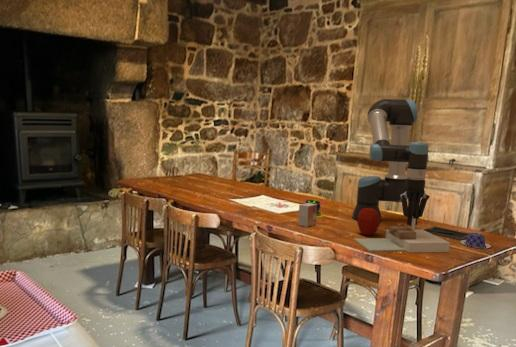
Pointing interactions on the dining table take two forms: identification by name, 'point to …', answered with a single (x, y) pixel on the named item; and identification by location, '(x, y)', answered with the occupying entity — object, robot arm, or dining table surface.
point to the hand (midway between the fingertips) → (411, 232)
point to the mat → (379, 244)
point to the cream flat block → (421, 242)
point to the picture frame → (447, 233)
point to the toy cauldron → (317, 206)
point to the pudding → (475, 241)
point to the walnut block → (402, 232)
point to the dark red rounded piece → (368, 221)
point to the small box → (307, 214)
